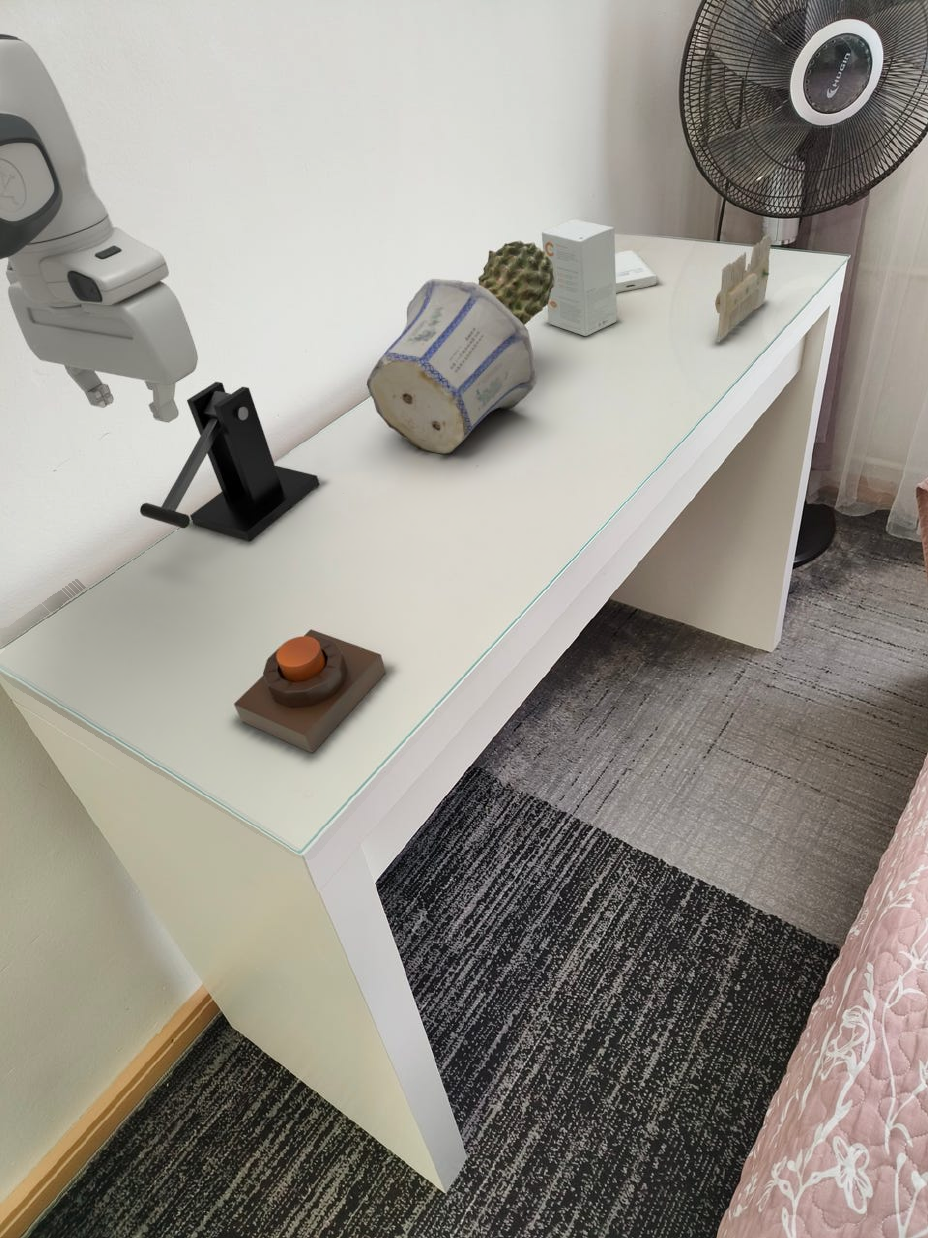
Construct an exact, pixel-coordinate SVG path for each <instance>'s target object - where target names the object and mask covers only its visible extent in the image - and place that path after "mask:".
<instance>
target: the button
mask: <svg viewBox="0 0 928 1238" xmlns="http://www.w3.org/2000/svg"><path fill="white" fill-rule="evenodd" d="M279 647H280V646H279ZM279 647H278V648H279ZM278 648H277V649H278ZM276 657H277V661H278V663H279V666H280V668H281V671H282V673H283V675H284V677H285V678H286V679H288V680H290V681H295V682H300V681H306V680H308V679H310V678H312V677H315V676H316V675H318V674H319V673H320V672H321V671H322V669H323V667H324V665H325V659H324V656H323V653H322V650H321V647H320V644H319V642H318V641H317V640H316V639H314V638H312V637H308V636H304V635H303V636H296V637H293V638H291V639H288V640H286V641H285V642H284V643H282V645H281V647H280V648H279V649H278V651H277V655H276Z"/></svg>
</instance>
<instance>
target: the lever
mask: <svg viewBox="0 0 928 1238" xmlns="http://www.w3.org/2000/svg"><path fill="white" fill-rule="evenodd" d="M225 392H226V391H225ZM225 392H220V391H215V392H214V394H213V396H212V398H211V400H210V401H209V403H208V405H207V407H206V409H205V410H204V413H205V414H206V415H207V416H208V417H209V418H210V420H209V422H208V424H207V425H206V427H205V429H204V431H203V433H202V434H201V436H200V435H199V438H198V440H197V442H196V443H195V445H194V447H193V449H192V450H191V452H190V454H189V456H188V458H187V460H186V461H185V463H184V465H183V467H182V469H181V470H180V472H179V474H178V476H177V477H176V479H175V481H174V483H173V485H172V487H171V489H170V490H169V492H168V493H167V496H166V497H165V499H164V500H163V502H162V504H161V506H159V505H156V504H153V503H150V502H144V503H142V504H141V506H140V507H139V512H140V514H141V516H143V517H145V518H148V519H151V520H154V521H158V522H161V523H164V524H168V525H170V526H174V527H177V528H180V529H186V528H188V527H189V526H190V523H191V517H190V515H188V514H186V513H182V512H180V511H177V509H178V507H179V506H180V504H181V502H182V500H183V498H184V496H185V495H186V492H188V489H189V488H190V485H191V484H192V482H193V480H194V478H195V476H196V475H197V473H198V471H199V469H200V467H201V465H202V464H203V462H204V460H205V459H206V457H207V456H208V454H207V453H208V451H209V449H210V447H211V446H212V444H213V442H214V440H215V438H216V436H217V435H218V433H219V431H220V429H221V425H220V423H219V420H218V417H217V415H216V412H215V409H214V405H215V404H217V403H218V402H220V401H221V400H223V399H224V398H226V397H227V396H229V395H230V394H231V393H230V392H226V393H225Z"/></svg>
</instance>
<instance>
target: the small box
mask: <svg viewBox="0 0 928 1238" xmlns="http://www.w3.org/2000/svg"><path fill="white" fill-rule="evenodd" d="M541 239H542V240H541V241H542V251H543V252H545V253H546V254H547V256H548V258H549V259H550V261H551V262H552V264H553V277H554V280H555V283H554V287H553V288H552V289H551V293H550V298H549V302H548V304H547V305H546V306H547V319H548V325H551V326H555V327H557V328H560V329H564V330H566V331H569V332H572V333H574V334H577V335H581V336H583V337H587V336H590V335H592V334H594V333H596V332H598V331H600V330H602V329H605V328H606V327H608V326H610V325H612V324H615V323H616V322H617V321H618V313H617V312H618V309H617V308H618V307H617V293H616V273H615V253H616V245H615V244H616V243H615V242H616V241H615V226H614V227H613V226H609V225H604V224H599V223H594V222H589V221H585V220H581V219H577V218H574V219H571V220H569V221H566V222H563V223H561V224H558V225H556V226H552V227H551V228H548V229H545V230H542V231H541Z"/></svg>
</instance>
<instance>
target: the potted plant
mask: <svg viewBox="0 0 928 1238" xmlns="http://www.w3.org/2000/svg"><path fill="white" fill-rule="evenodd" d="M482 270H483V273H482V274H481V275H479V276H478V278H477V280H478V283H477V282H474V281H463V280H457V279H443V278H442V279H441V278H431V279H428V280H426V282H425V283H424V284H423V285H422V286H421V287H420V289H419V290H417V292H416V293H415V294H414V296H413V298H412V299H411V300H410V301H409V302H408V304H407V307H406V324H405V326H404V329H403V330H402V333H401V334H400V335H399V337H397V339H396V340H395V341H394V342H393V343H392V344H391V345H390V346H389V348H387V350H385V352H384V353H383V355H382V356H381V357H380V358H379V359H378V361H377V363H376V364H375V365H374V367H373V369H372V370H371V373H370V374H369V376H368V378H367V380H366V386H367V389H368V392H369V396H370V397H371V398H372V399H373V403H374V407H375V410H376V413H377V414H378V415H379V417H380V418H382V420H383V421H384V422H385V423H386V425H387V426H388V428H390V429H392V430H394V431H395V432H396V433H397V434H399V435H400V436H401V437H402V438H404V439H405V440H407V441H409V442H410V443H411V444H412V445H414V446H416V447H418V448H419V449H421V450H422V451H425V452H432V453H436V454H444V455H445V454H451V452H453V451H454V450H456V448H457V447H459V446H460V445H461V444H462V443H463V441H464V440H465V439H466V438H467V437H468V436H469V435H470V433H471V432H472V431H473V430H474V429H475V427H477V425H479V424H480V422H481V421H482V420H483V419H485V417H487V416H488V415H489V414H490V413H492V412H493V411H495V410H497V409H502V410H511V409H513V408H514V407H516V406H517V405H518V404H520V402H521V401H523V399H525V397H527V395H528V394H530V392H532V390H533V389H534V388H535V386H536V385H537V382H538V372H537V369H536V364H535V359H534V350H533V346H532V342H531V338H530V333H529V330H528V328H527V327H526V326H525V325H526V324H527V323H528V322H530V321H531V320H532V319H533V318H534V317H535V316H536V315H537V314H539V313H540V312H542V311H543V309H544V308H545V307H546V306H547V304H548V302H549V298H550V293H551V289H552V288H553V287H554V283H555V280H554V277H553V264H552V262H551V261H550V259H549V258H548V256H547V254H546V253H545V252H543V249H541V247H537V246H536V243H535V242H533V241H532V242H527V243H524V242H523V241H521V240H516V241H511V242H509V243H504V245H502V247H501V248H499V249H498V250H496V251H493V250H491V249H490V250H488V257H487V262H486V264H485V265H484V266H483V268H482Z"/></svg>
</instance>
